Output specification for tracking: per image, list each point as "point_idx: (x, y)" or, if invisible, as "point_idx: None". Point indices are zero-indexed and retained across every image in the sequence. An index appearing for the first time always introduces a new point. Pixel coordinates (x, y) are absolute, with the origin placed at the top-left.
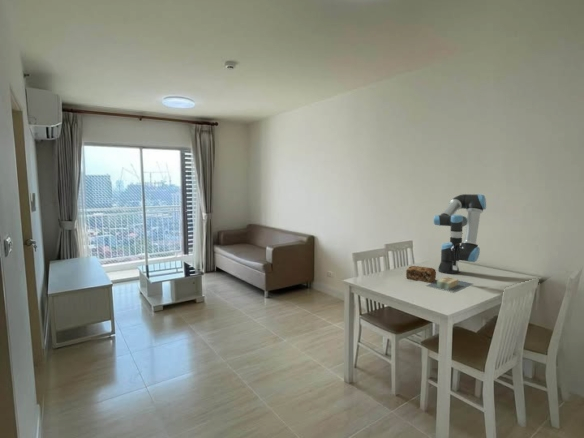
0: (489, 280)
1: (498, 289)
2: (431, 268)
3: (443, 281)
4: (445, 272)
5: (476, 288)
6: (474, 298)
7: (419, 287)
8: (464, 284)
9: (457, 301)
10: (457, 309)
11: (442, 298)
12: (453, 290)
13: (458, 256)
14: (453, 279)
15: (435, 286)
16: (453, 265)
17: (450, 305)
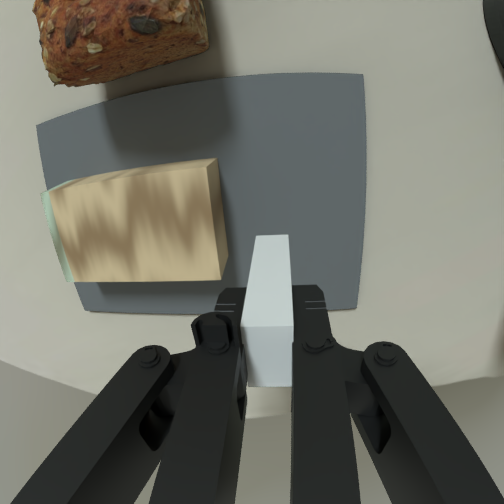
0: (493, 310)
1: None
2: (99, 16)
3: (68, 233)
4: (492, 29)
5: None
6: None
7: (4, 123)
8: None
9: (37, 346)
10: (7, 361)
11: (6, 296)
12: (99, 291)
13: (369, 446)
14: (184, 255)
15: (63, 174)
16: (225, 295)
17: (3, 339)
